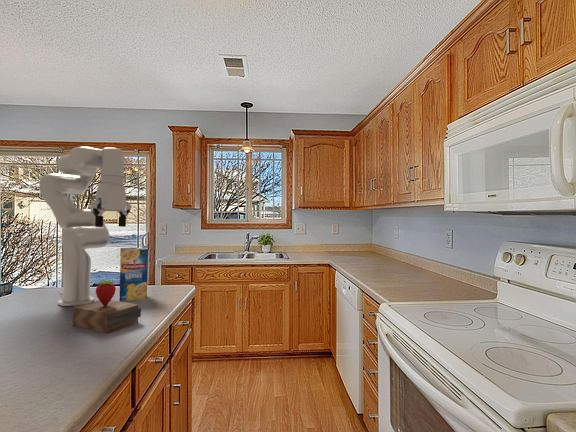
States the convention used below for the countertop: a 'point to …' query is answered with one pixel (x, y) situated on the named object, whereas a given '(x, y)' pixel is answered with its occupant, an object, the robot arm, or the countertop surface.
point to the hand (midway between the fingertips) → (111, 226)
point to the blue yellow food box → (133, 273)
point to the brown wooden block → (105, 315)
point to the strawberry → (105, 291)
